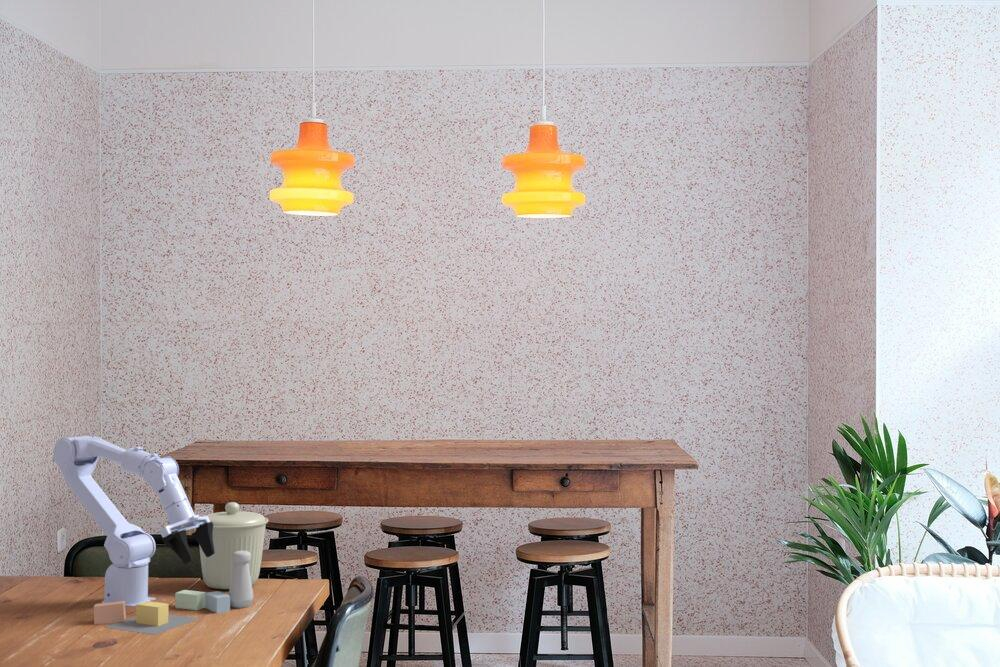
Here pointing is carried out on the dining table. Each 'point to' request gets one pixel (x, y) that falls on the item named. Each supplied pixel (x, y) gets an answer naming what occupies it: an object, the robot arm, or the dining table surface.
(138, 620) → the mustard brick
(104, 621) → the terracotta brick
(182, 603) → the green brick
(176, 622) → the felt mat
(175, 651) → the dining table surface
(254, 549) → the canister
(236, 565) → the salt shaker
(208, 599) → the slate brick
